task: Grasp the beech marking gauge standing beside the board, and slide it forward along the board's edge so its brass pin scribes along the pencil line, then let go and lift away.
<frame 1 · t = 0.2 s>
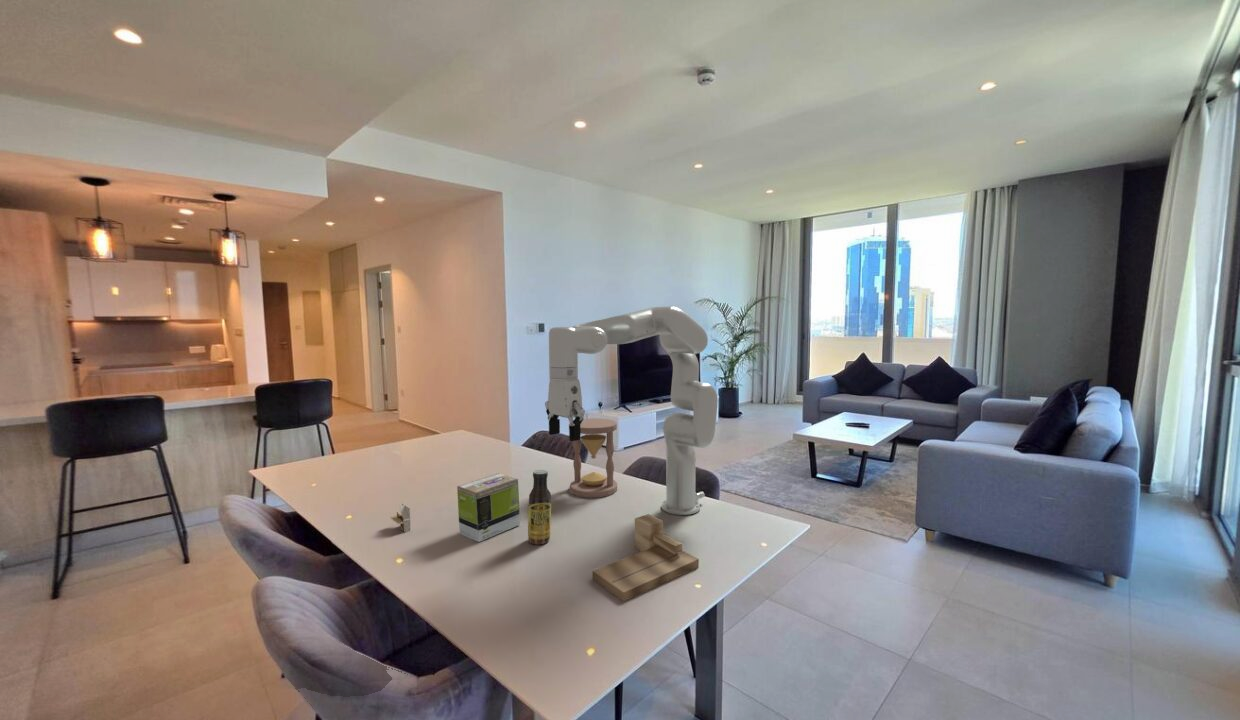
hand: (564, 437, 128), 31 cm above the table, tool pointing down, fingers open, 9 cm apart
architectural model: (403, 531, 144), on the table
tea box: (490, 530, 143), on the table
gauge: (648, 548, 130), on the table
board: (646, 572, 117), on the table
hourglass: (593, 490, 177), on the table
sauce bottle: (539, 541, 135), on the table
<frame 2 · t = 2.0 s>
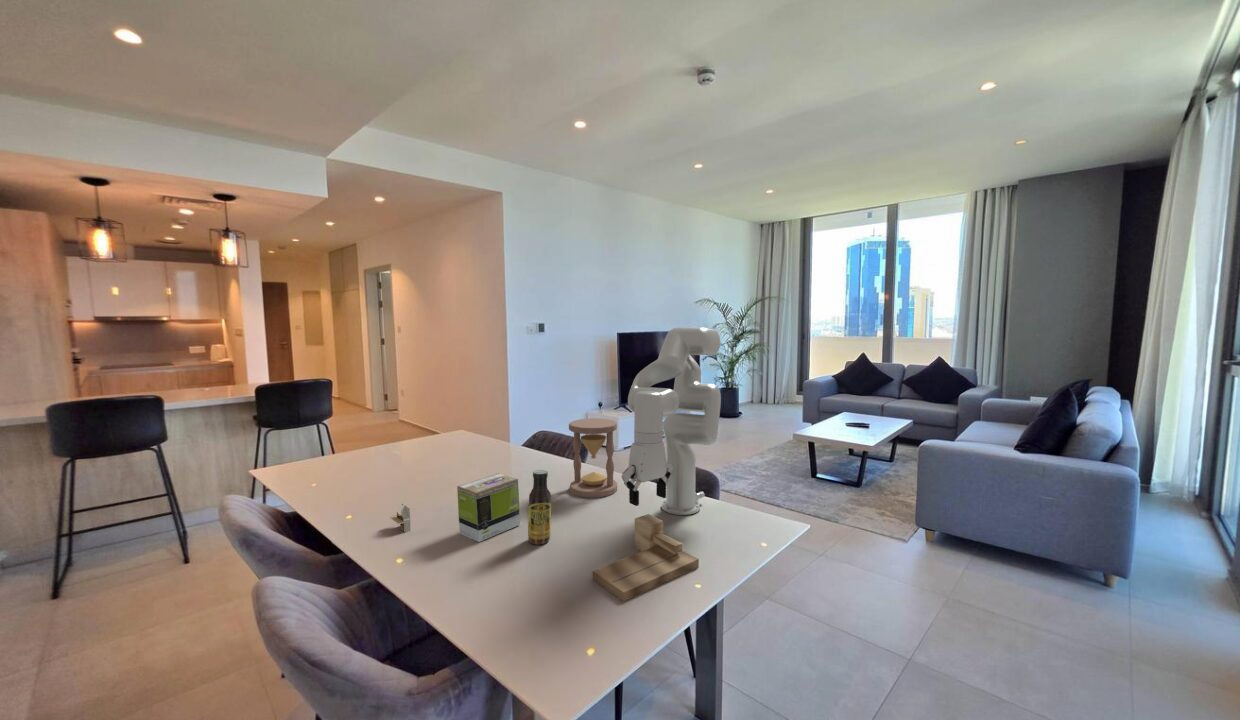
hand: (647, 500, 129), 13 cm above the table, tool pointing down, fingers open, 9 cm apart
nothing on the table moved.
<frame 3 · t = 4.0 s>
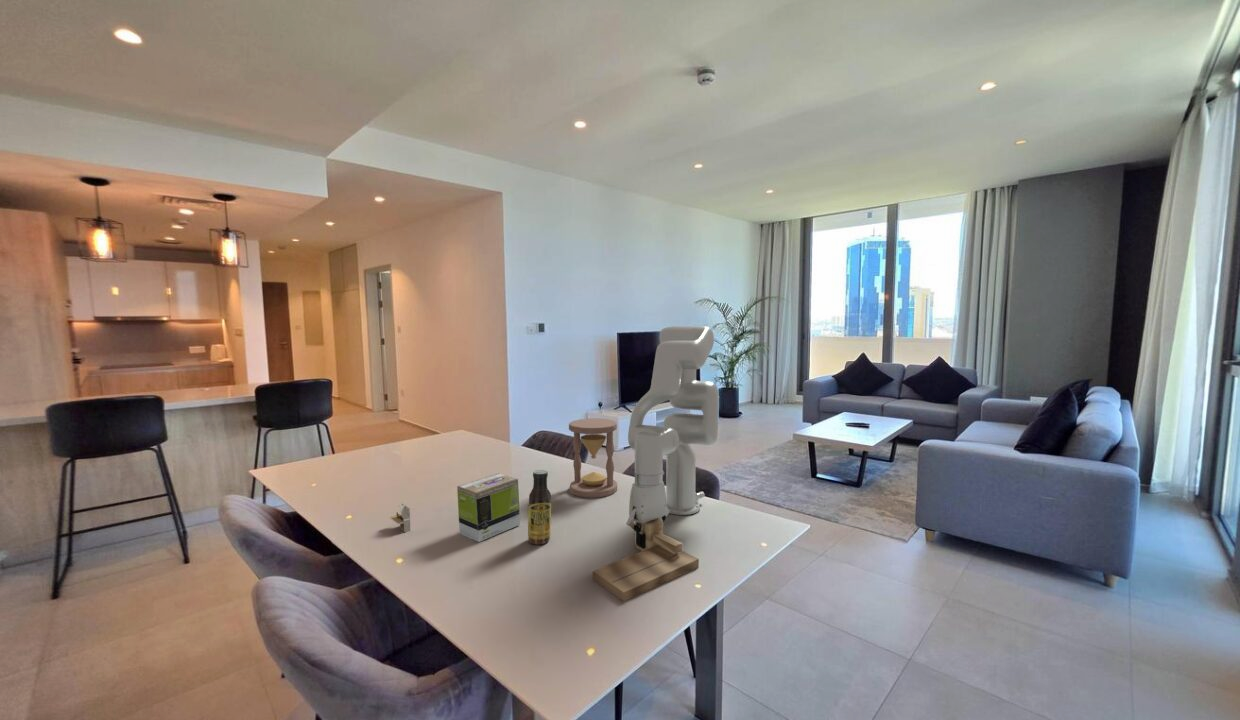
hand: (648, 542, 130), 1 cm above the table, tool pointing down, fingers closed on gauge, 5 cm apart
gauge: (648, 548, 130), on the table, touching gripper
everything else where it was.
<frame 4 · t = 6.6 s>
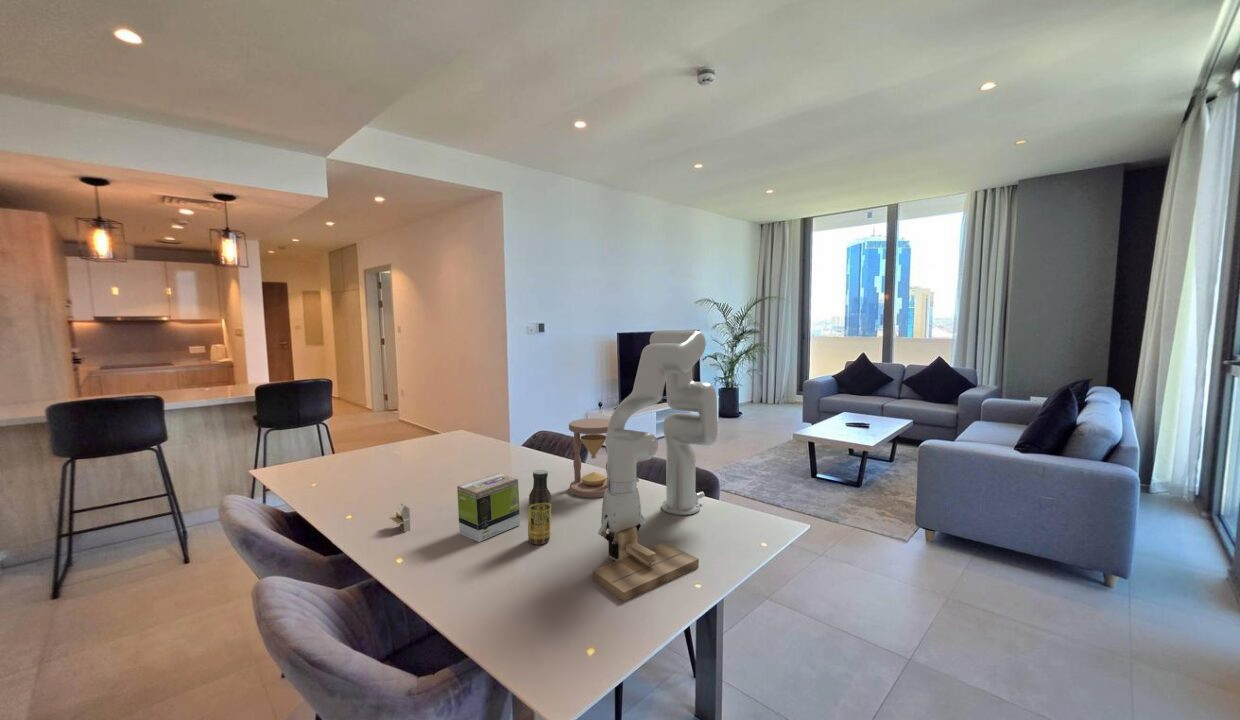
hand: (622, 552, 124), 1 cm above the table, tool pointing down, fingers closed on gauge, 5 cm apart
gauge: (622, 557, 124), on the table, touching gripper
everything else where it was.
when the fingers open (1 cm above the table, at t = 9.5 s): gauge stays where it is, on the table.
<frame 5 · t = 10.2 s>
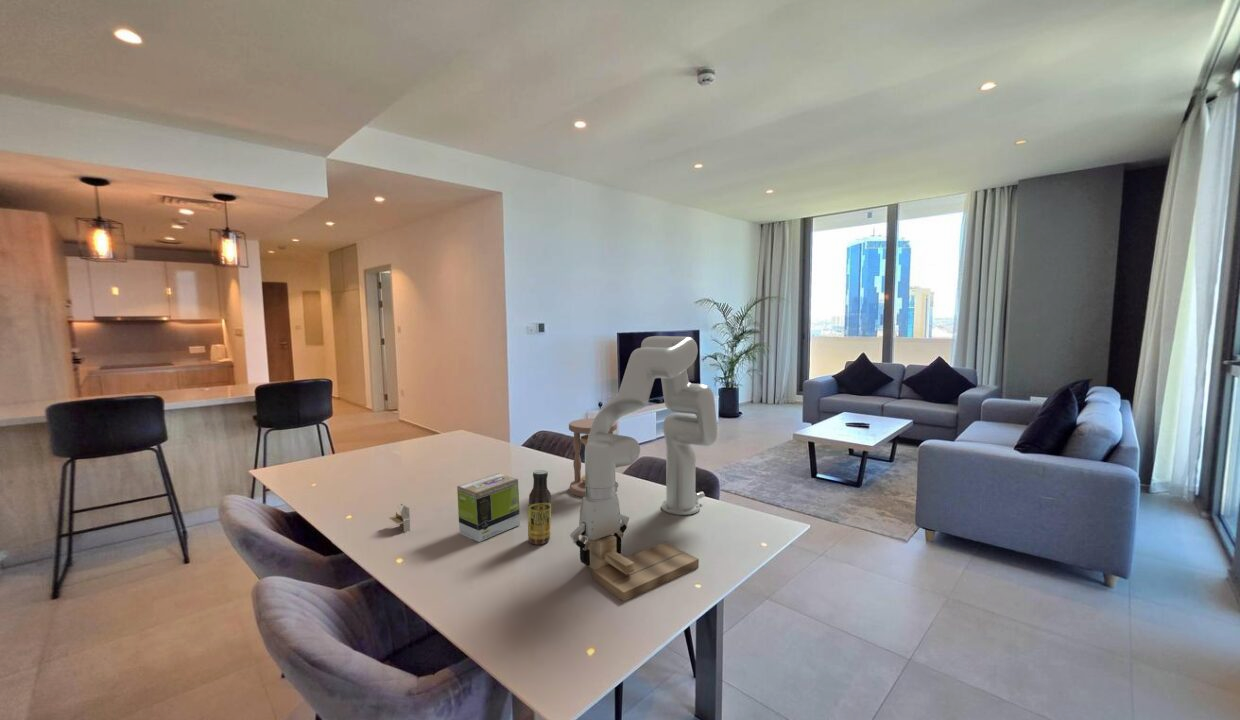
hand: (601, 557, 120), 2 cm above the table, tool pointing down, fingers open, 9 cm apart
gauge: (601, 566, 120), on the table
everything else where it was.
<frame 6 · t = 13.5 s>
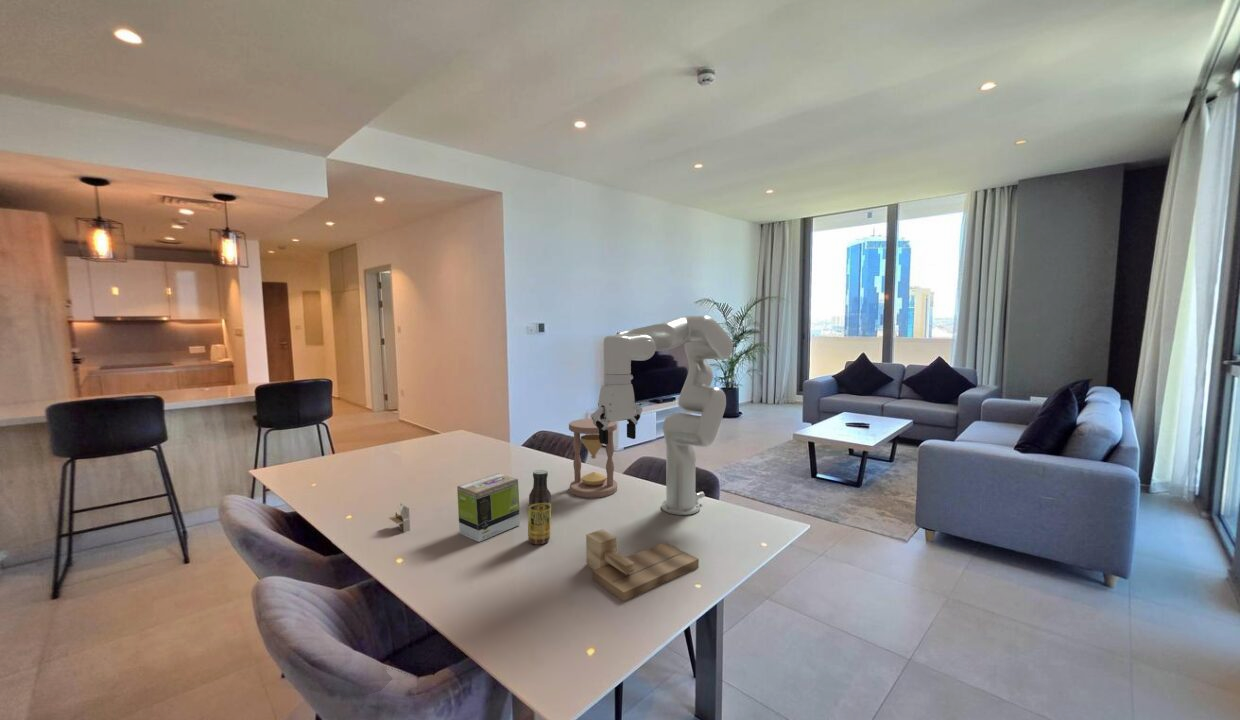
hand: (617, 440, 134), 28 cm above the table, tool pointing down, fingers open, 9 cm apart
nothing on the table moved.
at the end: gauge inside the target area (0.1 cm from its centre), on the table; gauge tilted 0°; the gripper is holding nothing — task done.
